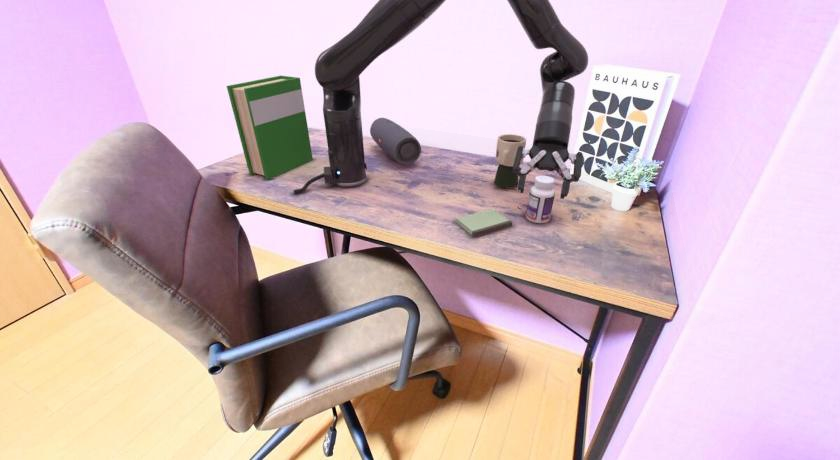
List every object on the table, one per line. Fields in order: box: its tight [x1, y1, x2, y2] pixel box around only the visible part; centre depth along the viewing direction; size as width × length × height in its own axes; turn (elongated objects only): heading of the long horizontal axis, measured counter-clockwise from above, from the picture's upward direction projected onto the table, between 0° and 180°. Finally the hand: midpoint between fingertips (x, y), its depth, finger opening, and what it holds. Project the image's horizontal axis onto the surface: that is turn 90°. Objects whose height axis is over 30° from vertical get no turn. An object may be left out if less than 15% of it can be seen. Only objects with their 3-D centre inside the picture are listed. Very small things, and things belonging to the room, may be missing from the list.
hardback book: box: [226, 75, 314, 181], centre depth 104 cm, size 18×7×24 cm, turn 150°
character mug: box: [493, 133, 527, 189], centre depth 96 cm, size 11×7×13 cm, turn 152°
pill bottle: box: [525, 175, 556, 224], centre depth 82 cm, size 5×5×10 cm
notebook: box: [455, 208, 513, 238], centre depth 82 cm, size 10×7×1 cm
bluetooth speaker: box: [369, 117, 422, 165], centre depth 115 cm, size 23×9×10 cm, turn 25°
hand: (541, 194), depth 80 cm, fingers open, 8 cm apart
